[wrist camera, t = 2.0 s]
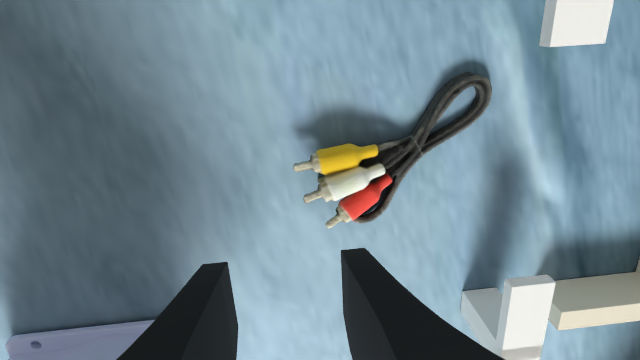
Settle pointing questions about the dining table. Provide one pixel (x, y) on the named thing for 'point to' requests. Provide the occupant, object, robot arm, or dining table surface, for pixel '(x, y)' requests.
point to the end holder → (596, 300)
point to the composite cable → (388, 156)
